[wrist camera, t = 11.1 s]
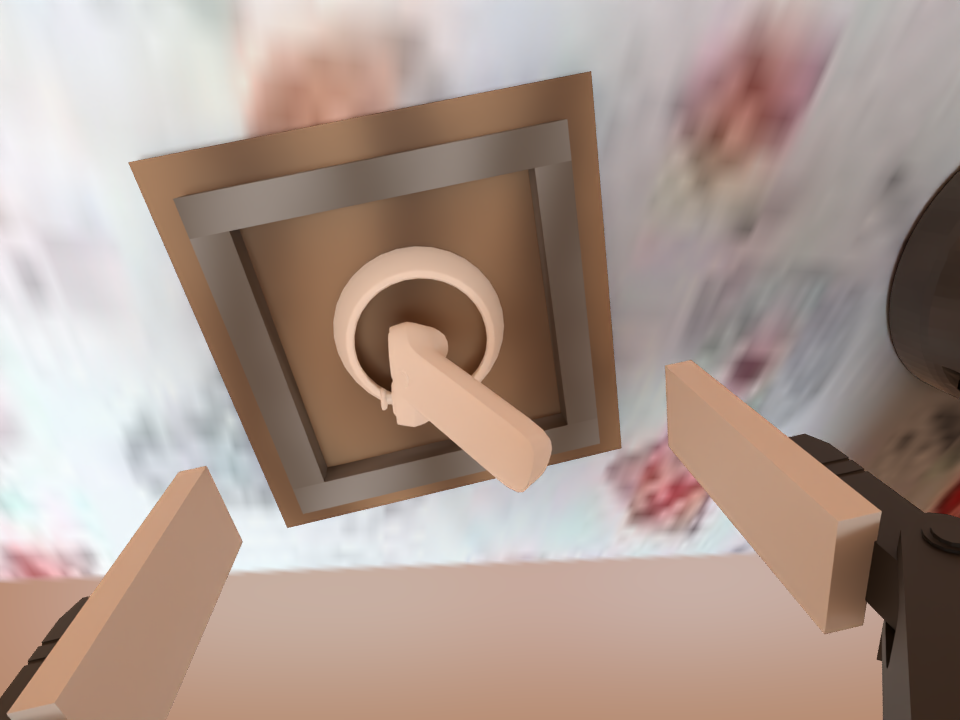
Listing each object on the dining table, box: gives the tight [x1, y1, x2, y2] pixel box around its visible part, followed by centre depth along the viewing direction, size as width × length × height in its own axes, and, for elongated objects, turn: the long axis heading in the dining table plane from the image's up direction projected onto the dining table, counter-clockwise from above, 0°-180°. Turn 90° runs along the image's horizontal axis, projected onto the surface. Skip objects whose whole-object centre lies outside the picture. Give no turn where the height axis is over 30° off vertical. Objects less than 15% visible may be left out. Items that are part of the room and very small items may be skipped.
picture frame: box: [128, 71, 621, 528], centre depth 24 cm, size 18×18×2 cm
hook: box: [333, 246, 552, 492], centre depth 21 cm, size 8×12×7 cm
